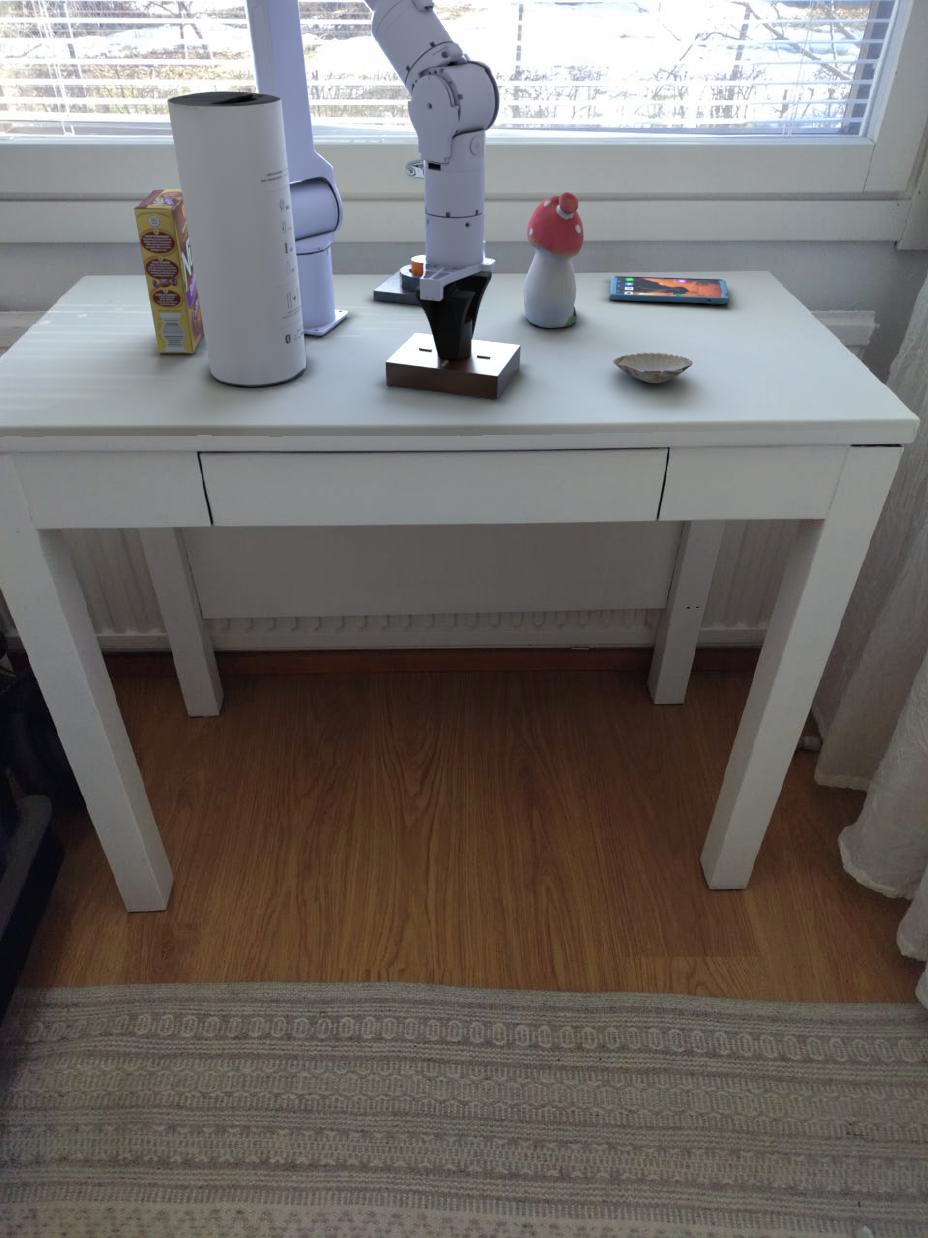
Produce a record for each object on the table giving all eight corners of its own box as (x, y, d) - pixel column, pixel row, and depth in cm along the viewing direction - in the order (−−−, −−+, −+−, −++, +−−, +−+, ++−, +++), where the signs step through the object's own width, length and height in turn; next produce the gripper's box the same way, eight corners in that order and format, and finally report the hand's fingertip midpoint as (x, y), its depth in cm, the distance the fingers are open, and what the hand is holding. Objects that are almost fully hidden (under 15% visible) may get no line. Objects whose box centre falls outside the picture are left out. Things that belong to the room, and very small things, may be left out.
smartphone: (611, 275, 124) (725, 278, 122) (610, 285, 125) (724, 289, 123) (609, 291, 117) (730, 295, 115) (608, 302, 118) (728, 306, 116)
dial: (465, 360, 94) (465, 324, 92) (432, 356, 95) (432, 320, 93) (475, 348, 97) (476, 312, 95) (443, 344, 98) (443, 309, 96)
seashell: (676, 381, 101) (607, 361, 101) (687, 354, 100) (617, 333, 99) (688, 399, 94) (614, 378, 93) (700, 370, 93) (624, 348, 92)
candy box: (197, 354, 102) (172, 207, 93) (158, 355, 102) (128, 208, 93) (212, 326, 109) (189, 187, 100) (175, 327, 109) (149, 187, 100)
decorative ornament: (578, 334, 108) (589, 196, 99) (522, 332, 108) (529, 195, 99) (574, 307, 115) (584, 178, 106) (522, 306, 116) (528, 177, 107)
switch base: (373, 299, 117) (372, 275, 116) (398, 279, 124) (397, 256, 123) (455, 308, 115) (455, 284, 113) (476, 287, 122) (476, 264, 120)
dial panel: (386, 384, 96) (385, 360, 94) (415, 354, 103) (415, 330, 101) (497, 399, 93) (497, 374, 91) (519, 367, 100) (520, 343, 98)
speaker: (256, 344, 105) (221, 81, 89) (329, 362, 100) (306, 89, 85) (189, 375, 97) (138, 94, 82) (265, 396, 93) (227, 103, 77)
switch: (407, 275, 117) (407, 261, 116) (417, 267, 120) (416, 253, 119) (434, 278, 116) (434, 263, 115) (443, 270, 119) (443, 256, 118)
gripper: (471, 232, 81) (470, 379, 89) (515, 197, 92) (510, 330, 100) (396, 226, 83) (402, 371, 91) (448, 191, 94) (449, 323, 102)
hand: (454, 349), depth 96 cm, fingers closed on dial, 3 cm apart
